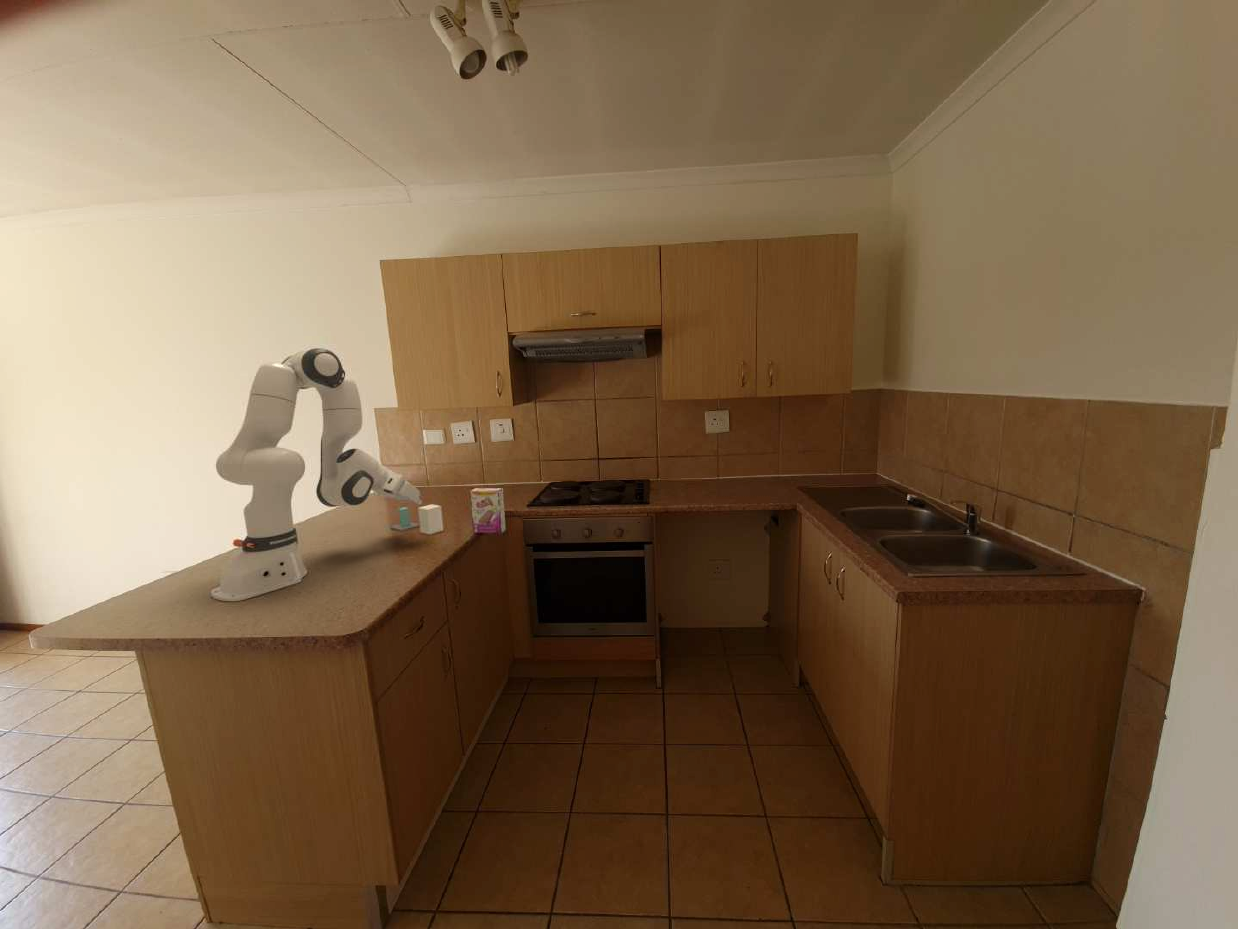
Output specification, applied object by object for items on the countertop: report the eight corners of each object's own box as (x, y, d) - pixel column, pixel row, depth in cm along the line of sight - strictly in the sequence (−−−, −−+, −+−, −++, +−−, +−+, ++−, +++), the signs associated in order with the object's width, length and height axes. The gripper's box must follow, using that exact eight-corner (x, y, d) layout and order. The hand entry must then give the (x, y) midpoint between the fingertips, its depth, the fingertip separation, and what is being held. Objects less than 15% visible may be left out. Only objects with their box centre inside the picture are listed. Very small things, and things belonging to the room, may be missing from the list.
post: (402, 531, 185) (399, 512, 184) (390, 528, 189) (388, 509, 188) (420, 526, 191) (418, 507, 190) (409, 523, 196) (407, 504, 195)
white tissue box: (429, 534, 181) (427, 509, 179) (420, 532, 184) (418, 507, 182) (443, 530, 185) (440, 506, 184) (433, 528, 188) (431, 504, 187)
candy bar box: (472, 534, 179) (469, 491, 177) (477, 530, 184) (474, 488, 182) (502, 534, 178) (498, 490, 176) (506, 530, 183) (503, 487, 180)
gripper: (361, 486, 171) (391, 506, 181) (394, 491, 160) (424, 512, 170) (372, 471, 174) (400, 492, 184) (405, 475, 163) (433, 497, 172)
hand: (412, 502), depth 177 cm, fingers open, 8 cm apart
